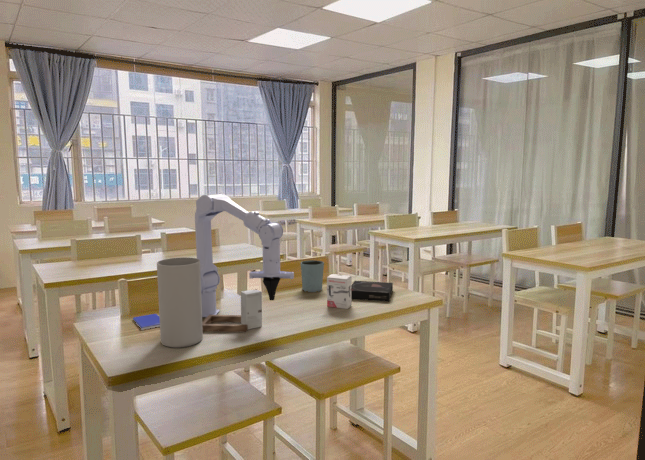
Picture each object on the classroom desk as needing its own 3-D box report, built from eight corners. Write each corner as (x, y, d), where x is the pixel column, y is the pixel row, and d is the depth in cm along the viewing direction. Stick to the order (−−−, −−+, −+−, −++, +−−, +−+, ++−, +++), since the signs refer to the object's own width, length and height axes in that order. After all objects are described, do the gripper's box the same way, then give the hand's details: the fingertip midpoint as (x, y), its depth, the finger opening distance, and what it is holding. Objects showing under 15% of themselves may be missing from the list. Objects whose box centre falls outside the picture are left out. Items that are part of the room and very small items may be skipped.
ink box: (326, 306, 182) (326, 276, 181) (331, 303, 187) (331, 273, 185) (347, 309, 179) (347, 278, 178) (352, 305, 184) (352, 275, 182)
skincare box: (246, 330, 157) (245, 294, 156) (240, 326, 161) (239, 291, 159) (263, 326, 161) (262, 291, 159) (257, 322, 164) (256, 288, 163)
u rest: (200, 331, 156) (199, 325, 156) (209, 320, 167) (209, 314, 167) (246, 332, 156) (246, 326, 155) (253, 320, 166) (253, 315, 166)
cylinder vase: (179, 331, 156) (175, 256, 153) (211, 336, 151) (208, 259, 148) (151, 344, 145) (147, 263, 141) (185, 351, 140) (181, 267, 136)
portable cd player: (392, 291, 206) (392, 282, 205) (388, 302, 189) (389, 292, 189) (354, 289, 210) (354, 280, 209) (348, 300, 193) (348, 290, 192)
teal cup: (298, 291, 203) (298, 264, 202) (303, 285, 213) (303, 259, 212) (322, 293, 202) (321, 265, 200) (325, 286, 212) (325, 260, 210)
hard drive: (166, 322, 162) (156, 313, 172) (141, 327, 157) (132, 317, 167) (166, 327, 162) (156, 317, 172) (141, 331, 157) (132, 321, 168)
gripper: (247, 261, 154) (248, 302, 156) (292, 262, 153) (292, 303, 155) (251, 257, 161) (252, 296, 163) (294, 257, 160) (294, 297, 162)
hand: (272, 299), depth 159 cm, fingers closed
